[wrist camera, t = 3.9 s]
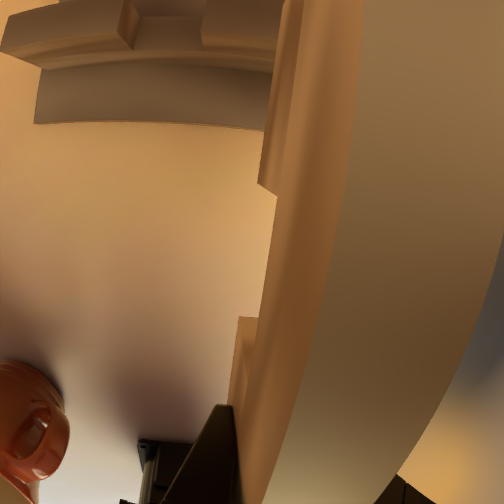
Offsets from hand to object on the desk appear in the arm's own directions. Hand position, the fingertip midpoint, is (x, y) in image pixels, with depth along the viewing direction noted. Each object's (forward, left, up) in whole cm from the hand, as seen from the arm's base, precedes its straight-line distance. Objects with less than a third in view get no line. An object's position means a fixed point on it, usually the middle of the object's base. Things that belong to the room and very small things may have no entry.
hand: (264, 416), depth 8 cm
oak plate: (+4, 0, -1) cm, 4 cm away
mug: (-11, +15, -12) cm, 22 cm away
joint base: (+12, +5, -11) cm, 17 cm away
